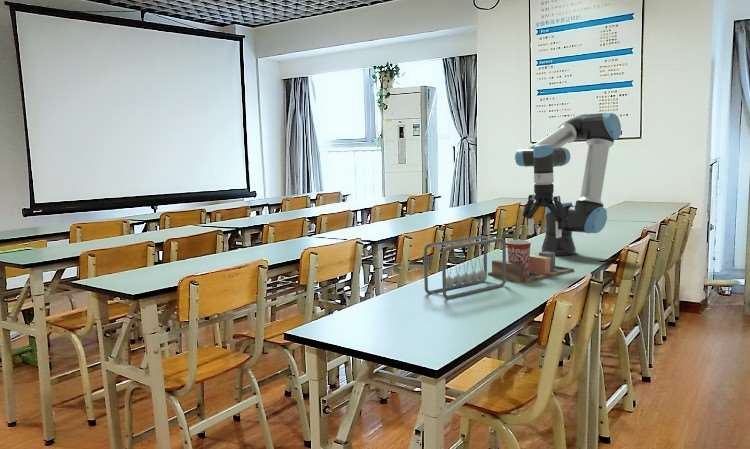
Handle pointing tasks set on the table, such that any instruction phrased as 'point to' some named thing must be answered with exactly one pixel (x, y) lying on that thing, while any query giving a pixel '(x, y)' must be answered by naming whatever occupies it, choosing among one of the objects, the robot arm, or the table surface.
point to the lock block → (552, 260)
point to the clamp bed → (520, 271)
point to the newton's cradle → (465, 278)
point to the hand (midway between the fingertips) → (544, 235)
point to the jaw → (539, 264)
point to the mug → (519, 253)
